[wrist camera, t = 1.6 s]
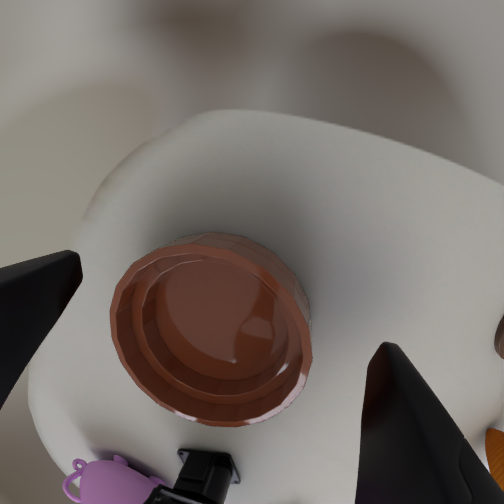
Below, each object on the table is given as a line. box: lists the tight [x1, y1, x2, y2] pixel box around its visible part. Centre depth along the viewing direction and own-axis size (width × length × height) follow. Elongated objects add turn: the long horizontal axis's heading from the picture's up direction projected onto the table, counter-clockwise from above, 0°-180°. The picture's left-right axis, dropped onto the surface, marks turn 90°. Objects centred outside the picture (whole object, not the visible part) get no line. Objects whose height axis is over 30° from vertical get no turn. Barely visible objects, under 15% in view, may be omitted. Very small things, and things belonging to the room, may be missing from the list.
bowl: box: [110, 232, 313, 427], centre depth 21 cm, size 14×14×5 cm
